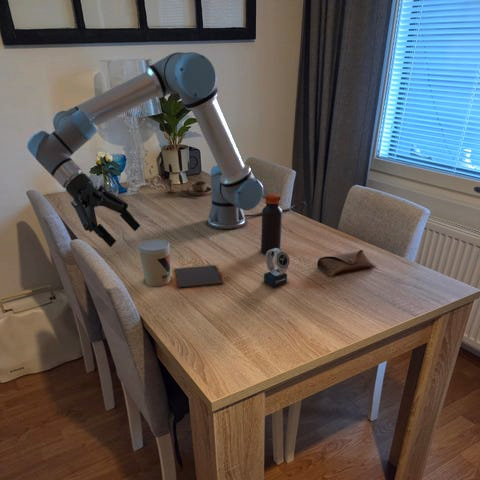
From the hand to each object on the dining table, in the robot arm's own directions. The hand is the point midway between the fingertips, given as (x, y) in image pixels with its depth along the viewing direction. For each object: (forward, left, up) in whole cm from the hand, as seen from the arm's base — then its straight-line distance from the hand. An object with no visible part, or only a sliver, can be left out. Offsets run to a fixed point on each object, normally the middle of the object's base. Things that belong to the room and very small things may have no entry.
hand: (126, 236), depth 134 cm
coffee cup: (-8, +5, -14) cm, 16 cm away
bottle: (-49, -10, -14) cm, 51 cm away
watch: (-44, +14, -14) cm, 48 cm away
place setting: (-31, -90, -14) cm, 96 cm away
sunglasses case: (-70, +8, -14) cm, 71 cm away
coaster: (-21, +5, -13) cm, 25 cm away
